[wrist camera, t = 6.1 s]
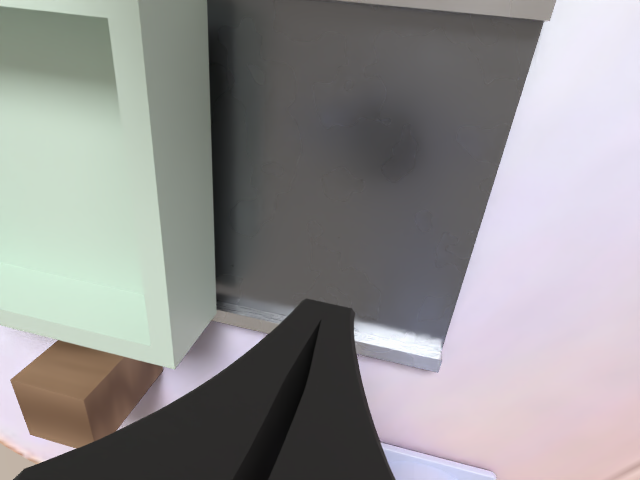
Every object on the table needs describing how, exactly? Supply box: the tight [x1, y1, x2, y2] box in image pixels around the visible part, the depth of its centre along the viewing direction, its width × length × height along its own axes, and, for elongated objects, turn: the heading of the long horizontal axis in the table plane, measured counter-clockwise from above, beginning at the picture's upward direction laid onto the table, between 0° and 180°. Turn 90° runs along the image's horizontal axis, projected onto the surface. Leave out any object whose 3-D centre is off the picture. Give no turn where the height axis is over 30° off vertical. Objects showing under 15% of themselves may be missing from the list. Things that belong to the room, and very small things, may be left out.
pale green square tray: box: [0, 0, 217, 369], centre depth 17 cm, size 14×14×5 cm
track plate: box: [207, 0, 556, 372], centre depth 18 cm, size 16×28×1 cm, turn 84°
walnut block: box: [10, 340, 163, 448], centre depth 23 cm, size 4×4×6 cm
